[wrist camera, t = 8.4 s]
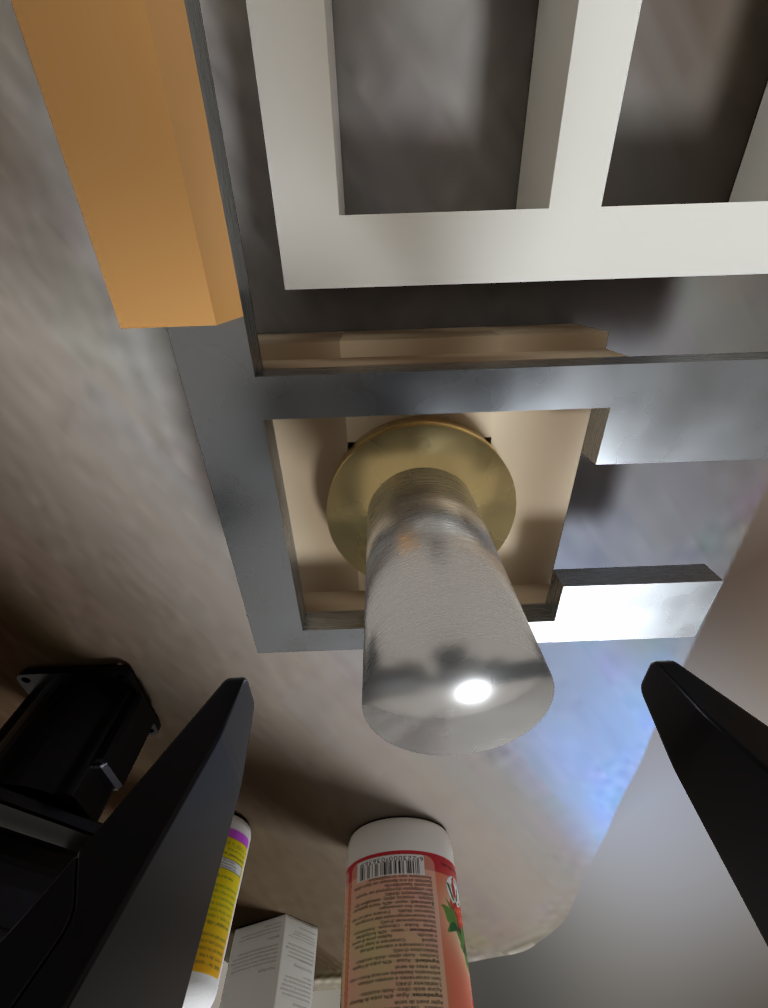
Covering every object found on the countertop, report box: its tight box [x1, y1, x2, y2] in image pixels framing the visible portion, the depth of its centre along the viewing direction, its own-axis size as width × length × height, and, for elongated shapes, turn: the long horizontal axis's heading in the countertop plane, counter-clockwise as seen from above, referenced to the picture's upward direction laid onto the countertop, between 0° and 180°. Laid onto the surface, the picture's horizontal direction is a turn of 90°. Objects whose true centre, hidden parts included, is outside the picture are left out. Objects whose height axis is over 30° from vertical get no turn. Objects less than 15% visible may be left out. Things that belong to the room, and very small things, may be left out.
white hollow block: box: [246, 0, 768, 290], centre depth 11 cm, size 16×9×3 cm, turn 92°
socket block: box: [258, 323, 627, 612], centre depth 16 cm, size 12×12×4 cm
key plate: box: [11, 0, 768, 653], centre depth 11 cm, size 18×20×3 cm
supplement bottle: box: [182, 815, 251, 1008], centre depth 29 cm, size 7×7×13 cm
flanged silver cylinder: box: [326, 416, 554, 756], centre depth 13 cm, size 7×7×11 cm
